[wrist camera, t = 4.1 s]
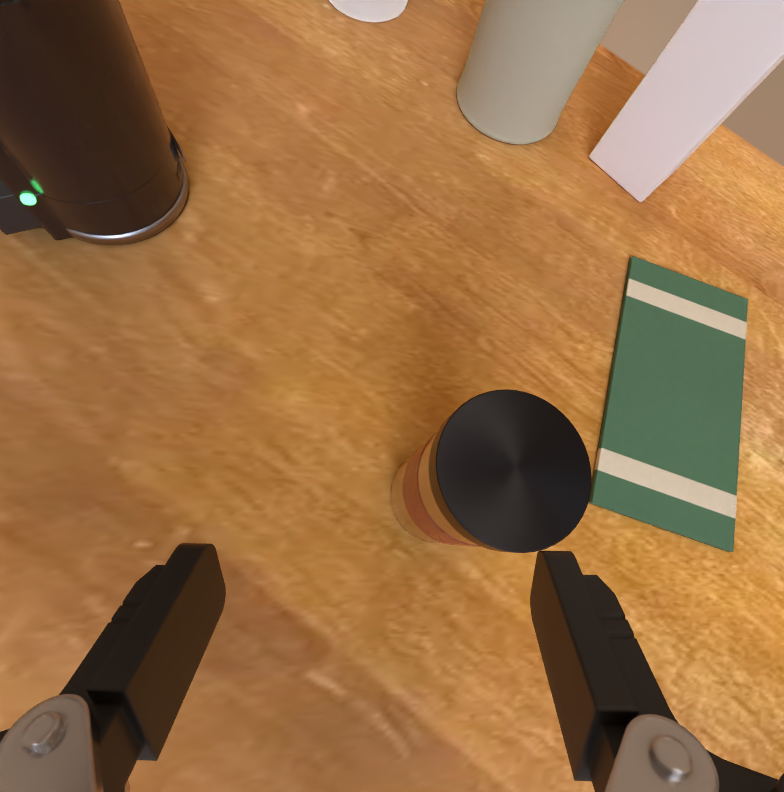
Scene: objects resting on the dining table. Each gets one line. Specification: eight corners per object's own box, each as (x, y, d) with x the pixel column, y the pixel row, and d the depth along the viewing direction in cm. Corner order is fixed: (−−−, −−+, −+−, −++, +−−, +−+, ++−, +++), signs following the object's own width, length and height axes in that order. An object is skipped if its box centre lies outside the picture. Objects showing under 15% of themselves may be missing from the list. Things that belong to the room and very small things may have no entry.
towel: (588, 502, 29) (592, 502, 29) (629, 258, 36) (632, 255, 36) (728, 551, 30) (733, 552, 29) (743, 301, 36) (748, 298, 36)
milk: (586, 158, 39) (892, -288, 18) (626, 125, 40) (945, -313, 20) (641, 205, 38) (1027, -203, 17) (678, 170, 40) (1068, -237, 19)
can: (568, 88, 41) (663, -85, 29) (543, 161, 38) (638, -1, 26) (474, 48, 40) (533, -142, 29) (441, 117, 37) (493, -64, 26)
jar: (412, 562, 27) (481, 583, 15) (373, 470, 28) (409, 422, 16) (496, 521, 28) (620, 510, 16) (455, 435, 30) (544, 368, 18)
